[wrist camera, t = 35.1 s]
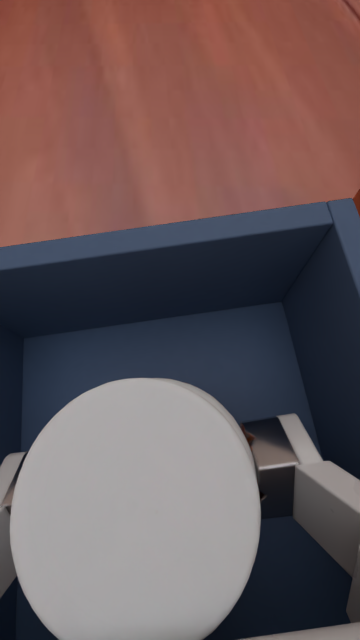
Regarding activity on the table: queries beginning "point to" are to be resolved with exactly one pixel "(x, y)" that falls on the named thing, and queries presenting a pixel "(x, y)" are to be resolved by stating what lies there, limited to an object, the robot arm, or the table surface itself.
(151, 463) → the pill bottle
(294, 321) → the slate bin
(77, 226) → the table surface
